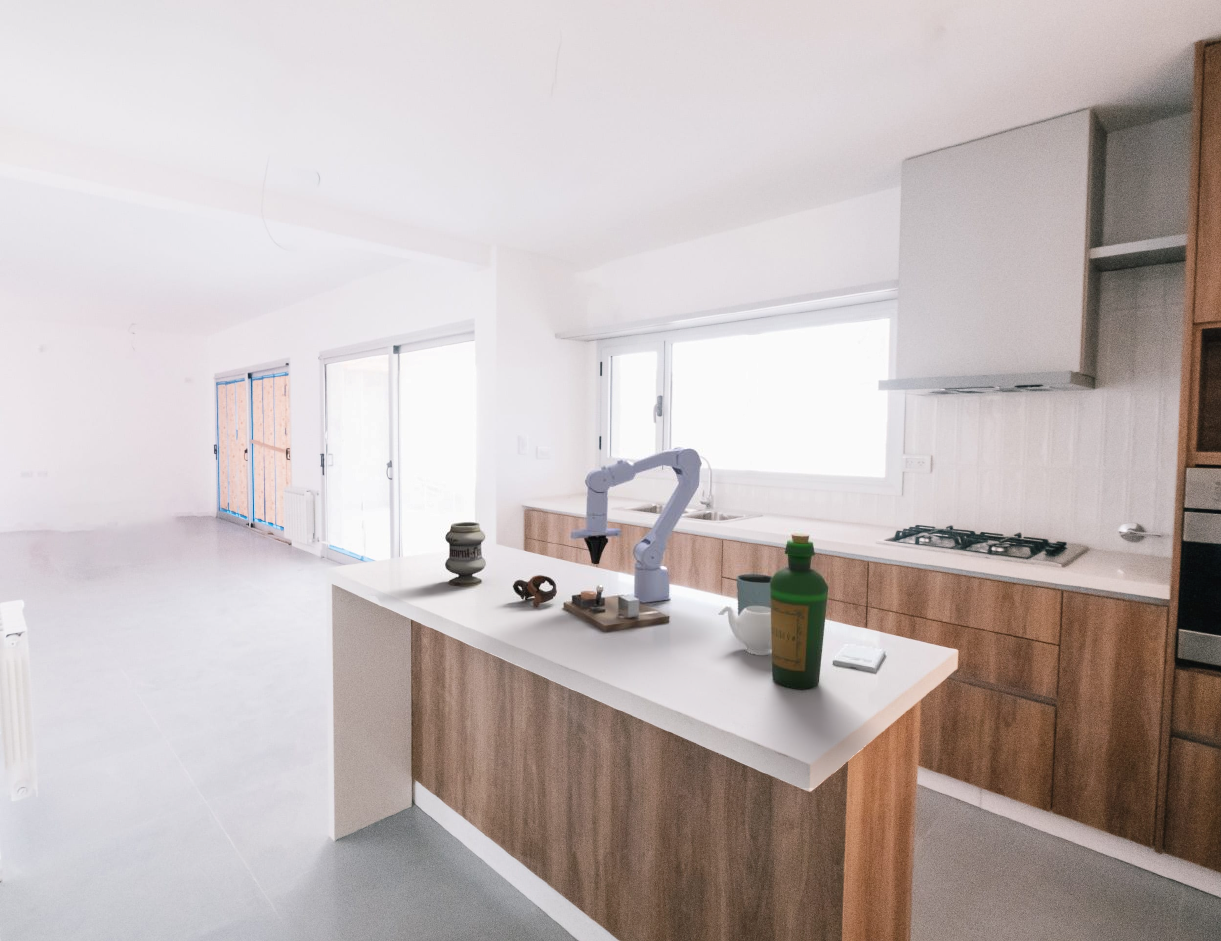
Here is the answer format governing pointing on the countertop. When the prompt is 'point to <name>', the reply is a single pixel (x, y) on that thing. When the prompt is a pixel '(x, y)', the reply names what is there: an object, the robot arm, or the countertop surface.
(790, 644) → the bottle
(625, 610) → the gray rectangular block
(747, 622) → the teapot
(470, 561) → the apothecary jar
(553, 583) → the brown curved loop piece
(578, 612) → the control panel
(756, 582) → the blue-gray cylindrical pot
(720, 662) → the countertop surface
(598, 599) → the toggle lever
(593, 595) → the push button
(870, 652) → the external hard drive
